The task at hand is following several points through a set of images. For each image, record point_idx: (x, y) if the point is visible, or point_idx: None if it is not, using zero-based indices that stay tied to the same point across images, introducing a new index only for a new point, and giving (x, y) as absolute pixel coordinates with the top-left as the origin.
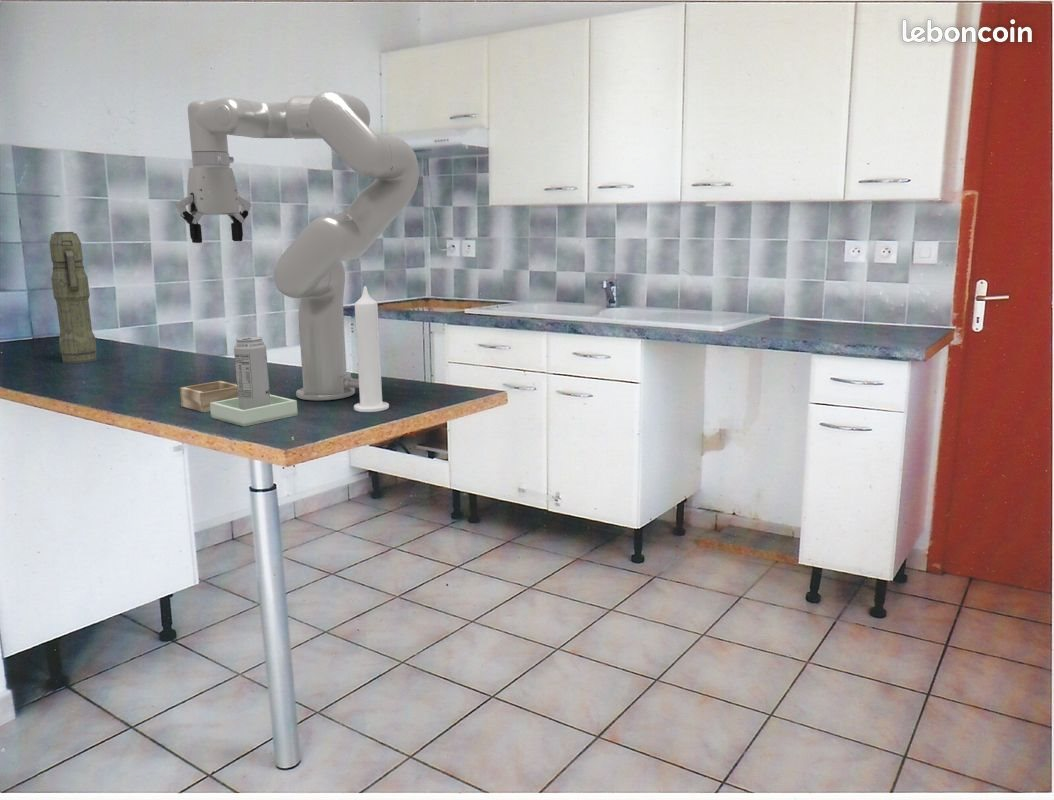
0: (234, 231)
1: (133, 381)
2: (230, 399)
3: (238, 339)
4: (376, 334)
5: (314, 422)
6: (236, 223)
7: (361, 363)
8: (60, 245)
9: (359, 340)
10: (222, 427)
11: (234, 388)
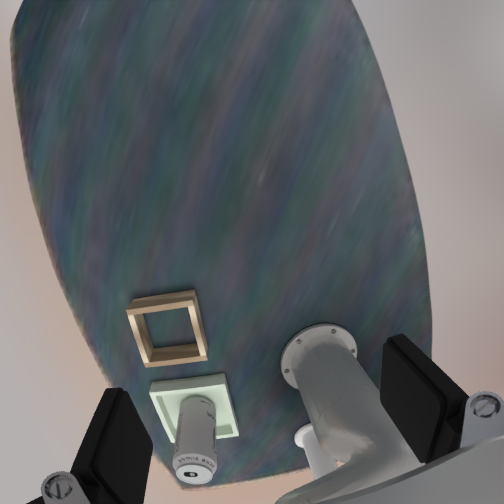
0: (407, 400)
1: (135, 46)
2: (175, 392)
3: (179, 471)
4: None
5: (237, 450)
6: (434, 446)
7: (312, 474)
8: None
9: None
10: (153, 421)
11: (194, 360)
